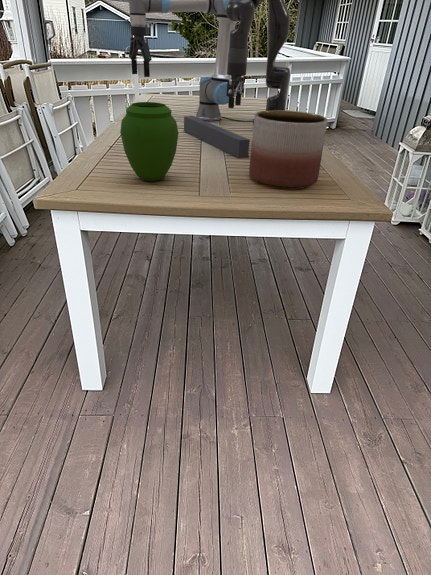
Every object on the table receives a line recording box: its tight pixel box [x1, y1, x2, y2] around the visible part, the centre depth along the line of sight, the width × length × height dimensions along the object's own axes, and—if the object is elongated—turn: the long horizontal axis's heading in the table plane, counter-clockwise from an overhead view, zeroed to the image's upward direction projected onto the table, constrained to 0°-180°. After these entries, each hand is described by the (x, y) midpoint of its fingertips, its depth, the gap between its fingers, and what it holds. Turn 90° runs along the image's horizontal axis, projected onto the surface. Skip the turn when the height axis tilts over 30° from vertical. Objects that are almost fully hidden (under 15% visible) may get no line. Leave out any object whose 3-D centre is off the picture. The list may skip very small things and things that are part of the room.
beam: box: [183, 115, 251, 159], centre depth 195 cm, size 56×5×7 cm, turn 28°
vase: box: [119, 101, 179, 182], centre depth 140 cm, size 20×20×24 cm
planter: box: [248, 109, 329, 190], centre depth 146 cm, size 25×25×22 cm
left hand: (140, 75), depth 208 cm, fingers open, 13 cm apart
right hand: (234, 106), depth 167 cm, fingers open, 8 cm apart
